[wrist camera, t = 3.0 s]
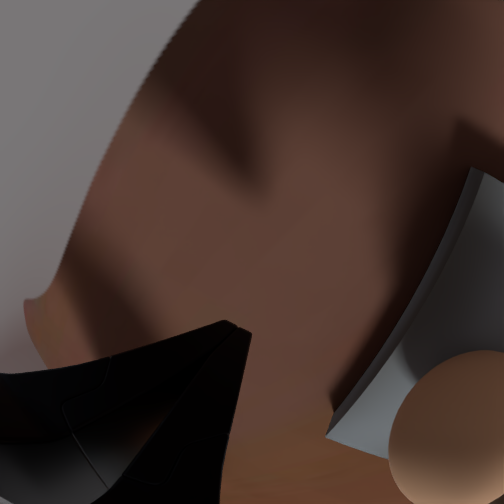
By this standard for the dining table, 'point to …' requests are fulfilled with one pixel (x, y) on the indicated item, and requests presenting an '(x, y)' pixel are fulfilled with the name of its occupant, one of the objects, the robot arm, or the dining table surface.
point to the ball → (452, 433)
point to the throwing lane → (436, 318)
